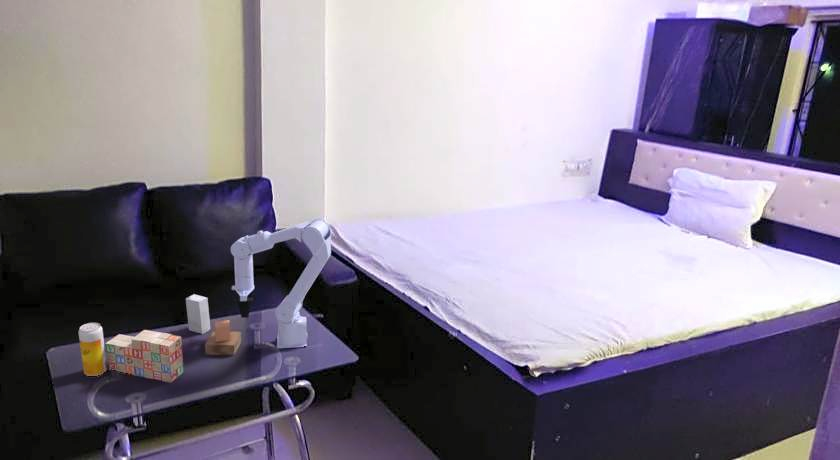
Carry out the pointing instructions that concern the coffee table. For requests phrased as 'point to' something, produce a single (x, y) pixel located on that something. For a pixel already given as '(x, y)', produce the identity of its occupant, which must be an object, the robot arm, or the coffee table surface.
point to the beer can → (92, 349)
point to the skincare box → (198, 313)
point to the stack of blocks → (147, 355)
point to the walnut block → (223, 345)
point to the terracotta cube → (222, 330)
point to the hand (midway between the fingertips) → (245, 312)
